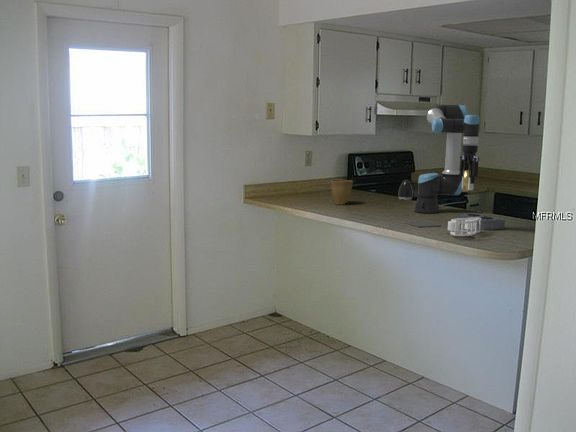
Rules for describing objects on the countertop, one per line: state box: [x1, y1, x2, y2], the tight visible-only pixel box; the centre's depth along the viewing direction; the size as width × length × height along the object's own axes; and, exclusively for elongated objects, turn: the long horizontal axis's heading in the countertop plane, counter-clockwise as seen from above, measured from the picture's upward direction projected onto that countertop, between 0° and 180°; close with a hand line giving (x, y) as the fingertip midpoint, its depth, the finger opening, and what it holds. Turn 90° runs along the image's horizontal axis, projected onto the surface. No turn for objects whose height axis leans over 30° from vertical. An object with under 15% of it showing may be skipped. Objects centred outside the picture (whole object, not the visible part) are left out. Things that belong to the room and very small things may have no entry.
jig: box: [455, 212, 506, 231], centre depth 323 cm, size 24×13×5 cm, turn 20°
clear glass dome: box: [397, 179, 414, 201], centre depth 420 cm, size 10×10×15 cm
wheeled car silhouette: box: [447, 217, 481, 237], centre depth 299 cm, size 20×11×7 cm, turn 117°
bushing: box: [461, 169, 473, 193], centre depth 316 cm, size 5×5×11 cm
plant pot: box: [330, 179, 354, 204], centre depth 397 cm, size 15×15×16 cm
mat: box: [404, 220, 442, 228], centre depth 323 cm, size 14×14×1 cm
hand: (467, 189), depth 316 cm, fingers closed on bushing, 5 cm apart
